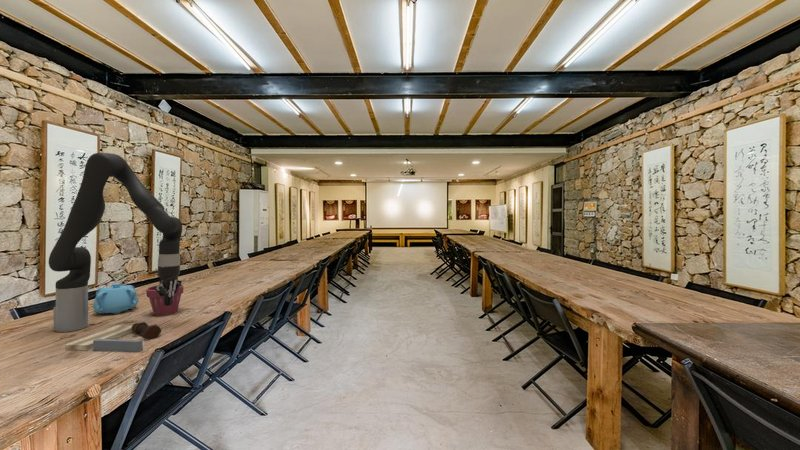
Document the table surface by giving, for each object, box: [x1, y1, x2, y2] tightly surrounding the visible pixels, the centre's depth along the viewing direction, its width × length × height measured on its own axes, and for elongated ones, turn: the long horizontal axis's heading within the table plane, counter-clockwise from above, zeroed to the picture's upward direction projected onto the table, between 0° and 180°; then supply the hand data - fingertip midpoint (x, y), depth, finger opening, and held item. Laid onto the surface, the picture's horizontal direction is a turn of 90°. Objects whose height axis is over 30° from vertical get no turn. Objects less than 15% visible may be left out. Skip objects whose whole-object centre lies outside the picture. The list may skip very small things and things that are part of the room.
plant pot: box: [146, 283, 184, 317], centre depth 152 cm, size 14×14×13 cm
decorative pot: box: [92, 282, 139, 315], centre depth 154 cm, size 16×16×14 cm
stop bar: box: [92, 338, 144, 353], centre depth 110 cm, size 16×2×4 cm, turn 89°
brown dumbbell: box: [132, 321, 162, 341], centre depth 124 cm, size 6×5×15 cm
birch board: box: [64, 324, 134, 351], centre depth 119 cm, size 8×20×2 cm, turn 179°
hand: (168, 305), depth 133 cm, fingers closed
